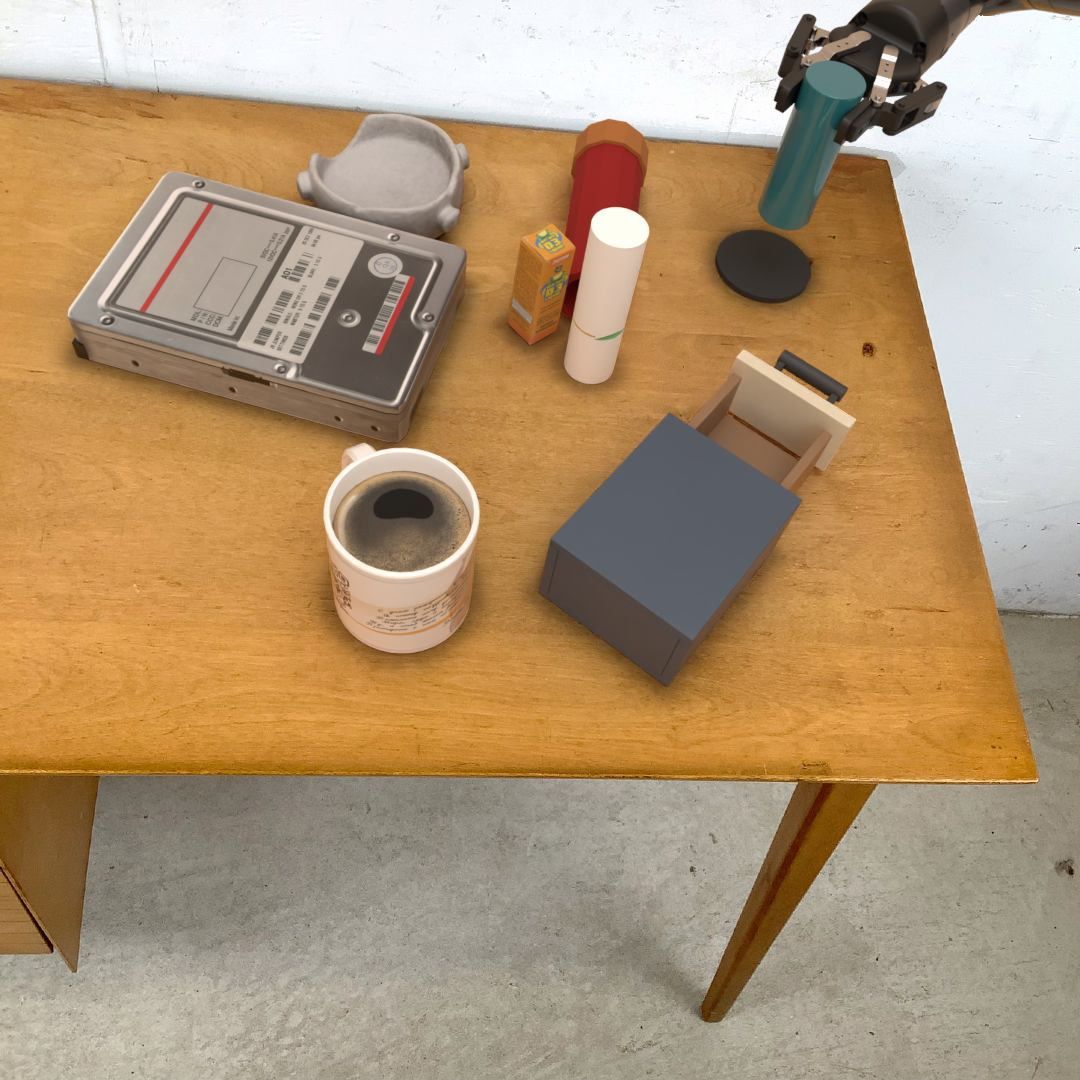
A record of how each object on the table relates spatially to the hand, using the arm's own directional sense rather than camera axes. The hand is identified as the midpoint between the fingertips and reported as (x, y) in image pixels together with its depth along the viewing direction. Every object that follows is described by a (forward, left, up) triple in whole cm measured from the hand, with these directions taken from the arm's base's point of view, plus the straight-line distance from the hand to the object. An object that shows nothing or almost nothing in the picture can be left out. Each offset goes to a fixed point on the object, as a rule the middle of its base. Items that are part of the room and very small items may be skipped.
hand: (811, 116), depth 79 cm
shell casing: (+13, +6, -18) cm, 23 cm away
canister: (0, -3, -11) cm, 11 cm away
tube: (+5, +18, -18) cm, 26 cm away
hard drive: (+27, +32, -18) cm, 46 cm away
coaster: (0, -3, -17) cm, 18 cm away
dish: (+30, +15, -18) cm, 38 cm away
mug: (+3, +44, -18) cm, 48 cm away
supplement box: (+11, +18, -18) cm, 28 cm away
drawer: (-11, +19, -17) cm, 27 cm away
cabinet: (-11, +31, -17) cm, 38 cm away
